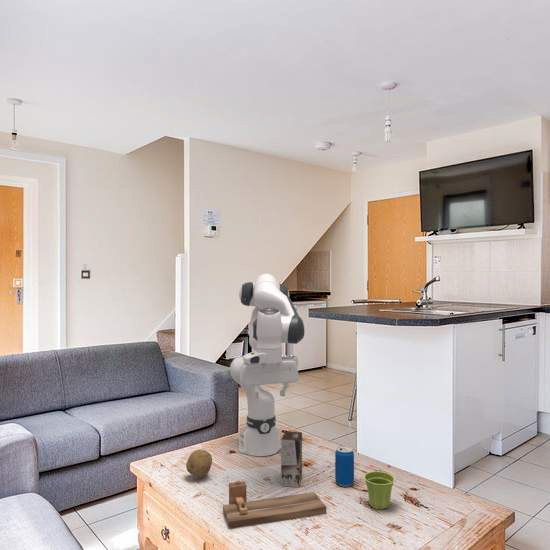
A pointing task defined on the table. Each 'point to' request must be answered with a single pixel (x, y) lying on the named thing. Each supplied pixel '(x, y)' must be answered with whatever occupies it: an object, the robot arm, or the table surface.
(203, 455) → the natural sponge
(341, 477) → the beverage can
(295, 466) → the coffee box
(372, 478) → the plant pot
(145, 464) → the table surface
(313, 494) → the plank
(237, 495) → the wooden chest hasp
